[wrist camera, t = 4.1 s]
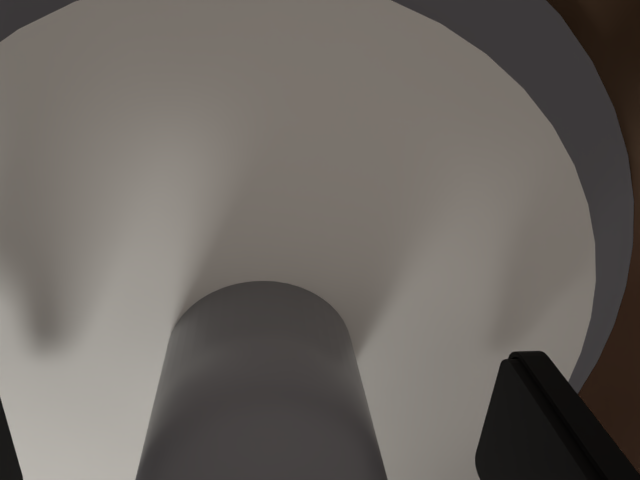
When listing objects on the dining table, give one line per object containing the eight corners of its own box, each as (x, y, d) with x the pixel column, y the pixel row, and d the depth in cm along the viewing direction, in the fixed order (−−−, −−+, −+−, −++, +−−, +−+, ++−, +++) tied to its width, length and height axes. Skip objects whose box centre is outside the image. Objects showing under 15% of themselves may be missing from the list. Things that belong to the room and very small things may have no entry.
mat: (767, 201, 13) (785, 209, 12) (350, 601, 18) (352, 617, 18) (13, -461, 7) (-3, -492, 6) (-253, 438, 13) (-271, 455, 12)
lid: (698, 229, 12) (1040, 424, 7) (341, 582, 17) (379, 856, 12) (71, -262, 7) (-441, -922, 2) (-182, 434, 12) (-526, 794, 7)
